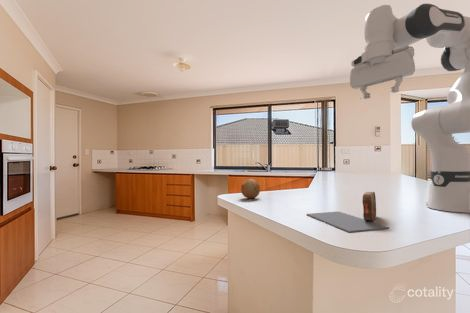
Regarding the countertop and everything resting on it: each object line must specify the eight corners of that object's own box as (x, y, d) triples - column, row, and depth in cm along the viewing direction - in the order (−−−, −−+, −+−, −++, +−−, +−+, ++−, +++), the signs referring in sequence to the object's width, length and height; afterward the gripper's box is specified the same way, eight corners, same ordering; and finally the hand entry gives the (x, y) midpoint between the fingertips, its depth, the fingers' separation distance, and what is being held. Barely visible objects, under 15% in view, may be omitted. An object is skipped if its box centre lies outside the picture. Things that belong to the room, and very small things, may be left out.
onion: (250, 200, 120) (249, 180, 121) (237, 198, 128) (236, 179, 128) (264, 198, 127) (264, 178, 127) (251, 196, 134) (250, 177, 134)
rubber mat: (338, 212, 91) (338, 211, 91) (388, 228, 70) (388, 227, 70) (306, 215, 88) (306, 213, 88) (348, 232, 67) (348, 231, 67)
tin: (372, 223, 73) (373, 195, 73) (360, 222, 75) (361, 194, 75) (376, 215, 86) (377, 191, 86) (366, 214, 88) (366, 190, 88)
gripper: (418, 45, 79) (419, 89, 79) (356, 66, 96) (357, 102, 96) (409, 41, 76) (410, 86, 76) (347, 63, 93) (347, 100, 93)
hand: (380, 95), depth 86 cm, fingers open, 8 cm apart
